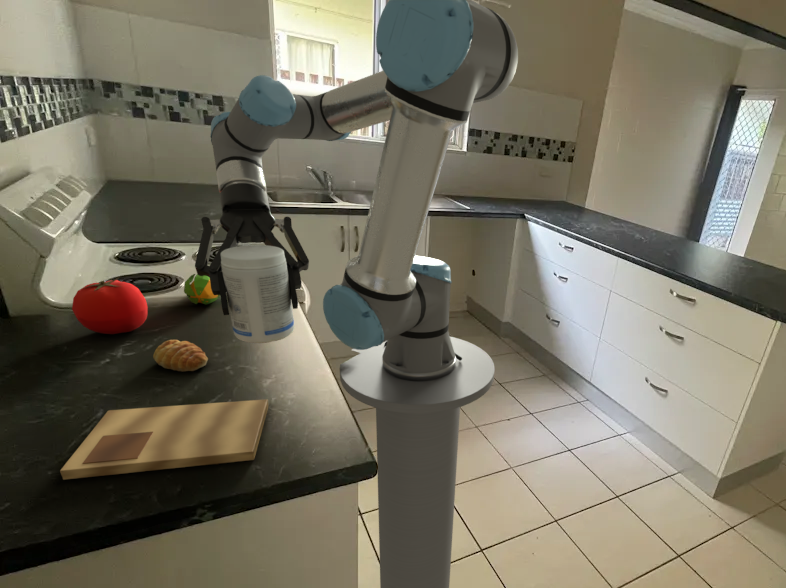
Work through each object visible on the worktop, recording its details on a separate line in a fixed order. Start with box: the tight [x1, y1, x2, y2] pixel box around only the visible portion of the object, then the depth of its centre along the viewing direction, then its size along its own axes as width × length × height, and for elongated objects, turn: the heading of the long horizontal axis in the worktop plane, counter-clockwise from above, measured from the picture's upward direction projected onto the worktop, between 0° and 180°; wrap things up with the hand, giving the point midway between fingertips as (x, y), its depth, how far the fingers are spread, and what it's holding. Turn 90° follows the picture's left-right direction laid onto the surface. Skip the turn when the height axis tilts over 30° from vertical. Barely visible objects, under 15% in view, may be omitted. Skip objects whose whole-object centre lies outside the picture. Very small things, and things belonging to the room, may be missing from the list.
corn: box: [183, 273, 221, 306], centre depth 119 cm, size 7×8×20 cm
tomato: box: [71, 275, 149, 335], centre depth 96 cm, size 12×12×11 cm
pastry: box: [152, 339, 209, 372], centre depth 88 cm, size 9×7×4 cm
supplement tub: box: [221, 244, 295, 344], centre depth 80 cm, size 10×10×15 cm
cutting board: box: [59, 398, 270, 481], centre depth 69 cm, size 22×14×2 cm, turn 107°
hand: (261, 308), depth 78 cm, fingers closed on supplement tub, 10 cm apart
